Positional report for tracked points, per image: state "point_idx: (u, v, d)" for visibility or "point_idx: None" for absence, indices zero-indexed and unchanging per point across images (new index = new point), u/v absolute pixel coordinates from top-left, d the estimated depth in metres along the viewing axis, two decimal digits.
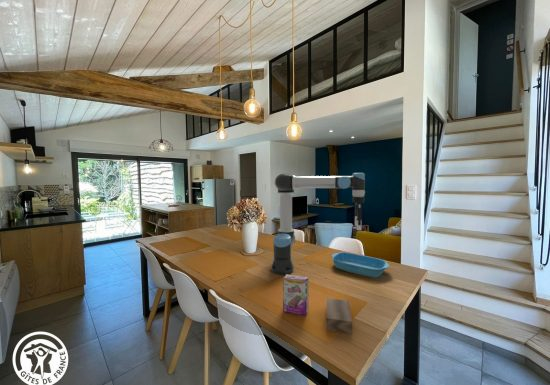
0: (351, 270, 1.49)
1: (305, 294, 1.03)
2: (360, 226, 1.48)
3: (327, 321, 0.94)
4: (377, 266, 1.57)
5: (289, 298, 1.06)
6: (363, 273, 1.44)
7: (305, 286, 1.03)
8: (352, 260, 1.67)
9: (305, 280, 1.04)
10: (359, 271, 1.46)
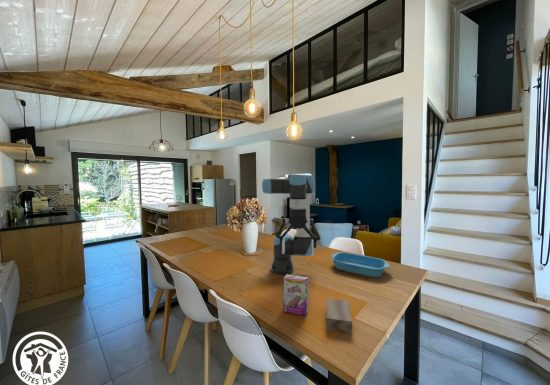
0: (352, 270, 1.49)
1: (305, 294, 1.03)
2: (282, 248, 1.08)
3: (327, 321, 0.94)
4: (376, 265, 1.58)
5: (289, 298, 1.06)
6: (364, 273, 1.44)
7: (305, 286, 1.03)
8: (351, 260, 1.67)
9: (305, 280, 1.04)
10: (360, 271, 1.45)
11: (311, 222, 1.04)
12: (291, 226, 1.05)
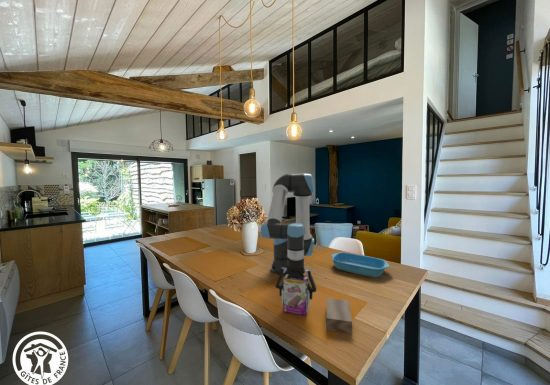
0: (352, 270, 1.49)
1: (305, 294, 1.03)
2: None
3: (327, 321, 0.94)
4: (376, 265, 1.58)
5: (289, 298, 1.06)
6: (364, 273, 1.44)
7: (305, 286, 1.03)
8: (351, 260, 1.67)
9: (305, 280, 1.04)
10: (360, 271, 1.45)
11: (309, 273, 1.04)
12: (289, 276, 1.06)
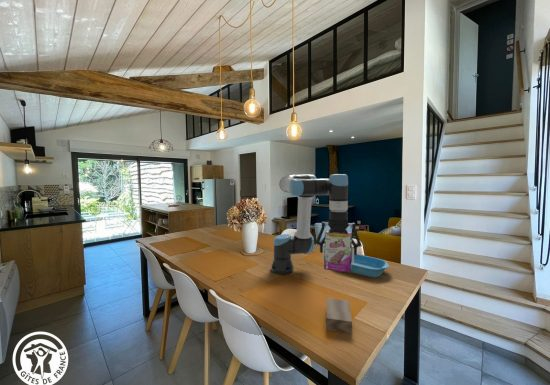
0: None
1: (350, 248, 0.95)
2: None
3: (327, 321, 0.94)
4: (377, 266, 1.57)
5: (331, 254, 0.98)
6: (362, 273, 1.45)
7: (350, 240, 0.95)
8: None
9: (349, 234, 0.96)
10: (358, 271, 1.46)
11: (353, 226, 0.96)
12: (332, 230, 0.98)
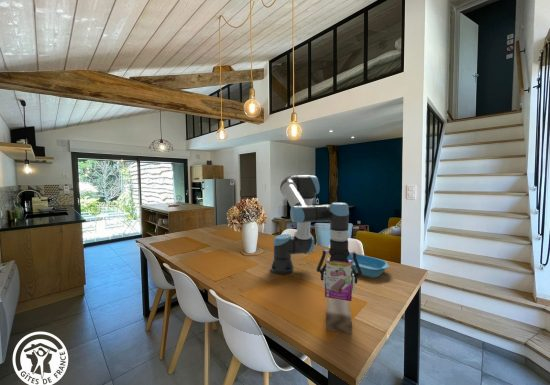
0: None
1: (350, 277, 0.96)
2: None
3: (327, 321, 0.94)
4: (378, 266, 1.56)
5: (332, 282, 0.98)
6: None
7: (351, 269, 0.96)
8: None
9: (350, 262, 0.97)
10: (357, 270, 1.47)
11: (354, 255, 0.97)
12: (332, 259, 0.98)
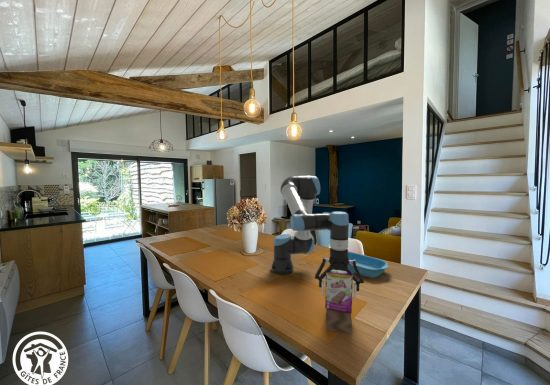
0: None
1: (351, 290, 0.97)
2: None
3: (327, 321, 0.94)
4: (378, 267, 1.55)
5: (332, 294, 0.99)
6: (360, 272, 1.46)
7: (351, 281, 0.96)
8: (355, 260, 1.68)
9: (350, 275, 0.97)
10: None
11: (354, 264, 0.97)
12: (332, 267, 0.99)
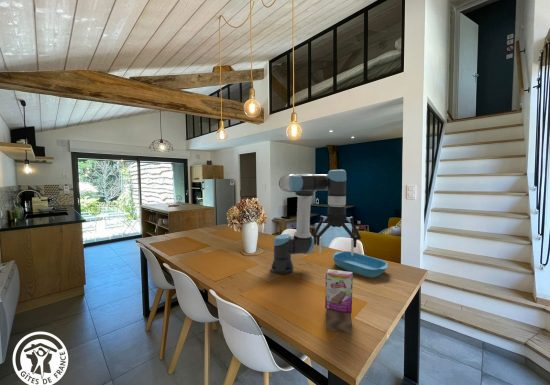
0: (348, 268, 1.52)
1: (351, 290, 0.97)
2: (319, 247, 1.03)
3: (327, 321, 0.94)
4: (379, 267, 1.55)
5: (332, 294, 0.99)
6: (358, 272, 1.46)
7: (351, 281, 0.96)
8: (356, 260, 1.68)
9: (350, 275, 0.97)
10: (355, 270, 1.47)
11: (351, 220, 0.98)
12: (330, 224, 1.00)
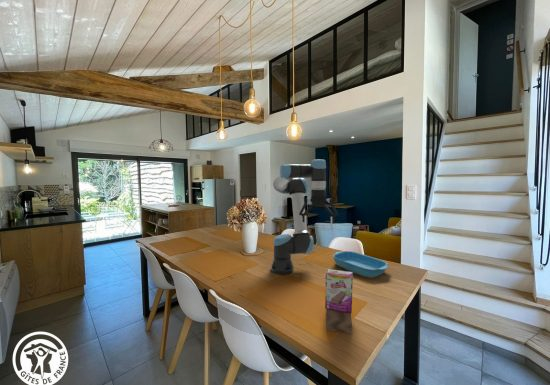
0: (347, 268, 1.52)
1: (351, 290, 0.97)
2: (304, 224, 1.24)
3: (327, 321, 0.94)
4: (379, 268, 1.54)
5: (332, 294, 0.99)
6: (357, 272, 1.46)
7: (351, 281, 0.96)
8: (357, 260, 1.68)
9: (350, 275, 0.97)
10: (354, 269, 1.48)
11: (330, 201, 1.20)
12: (312, 204, 1.22)
